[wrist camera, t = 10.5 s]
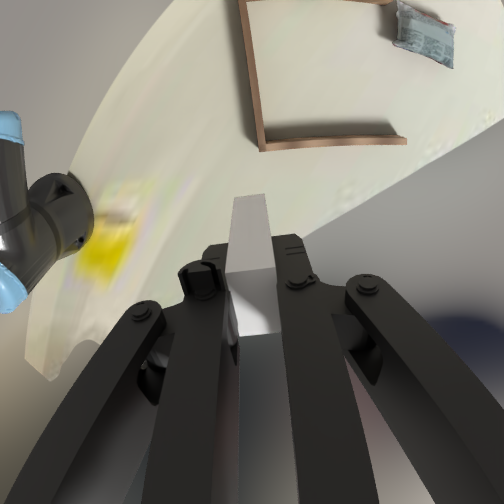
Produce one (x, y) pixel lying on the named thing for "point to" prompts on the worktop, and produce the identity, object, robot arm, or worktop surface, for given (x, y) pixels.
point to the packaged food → (425, 35)
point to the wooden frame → (306, 141)
